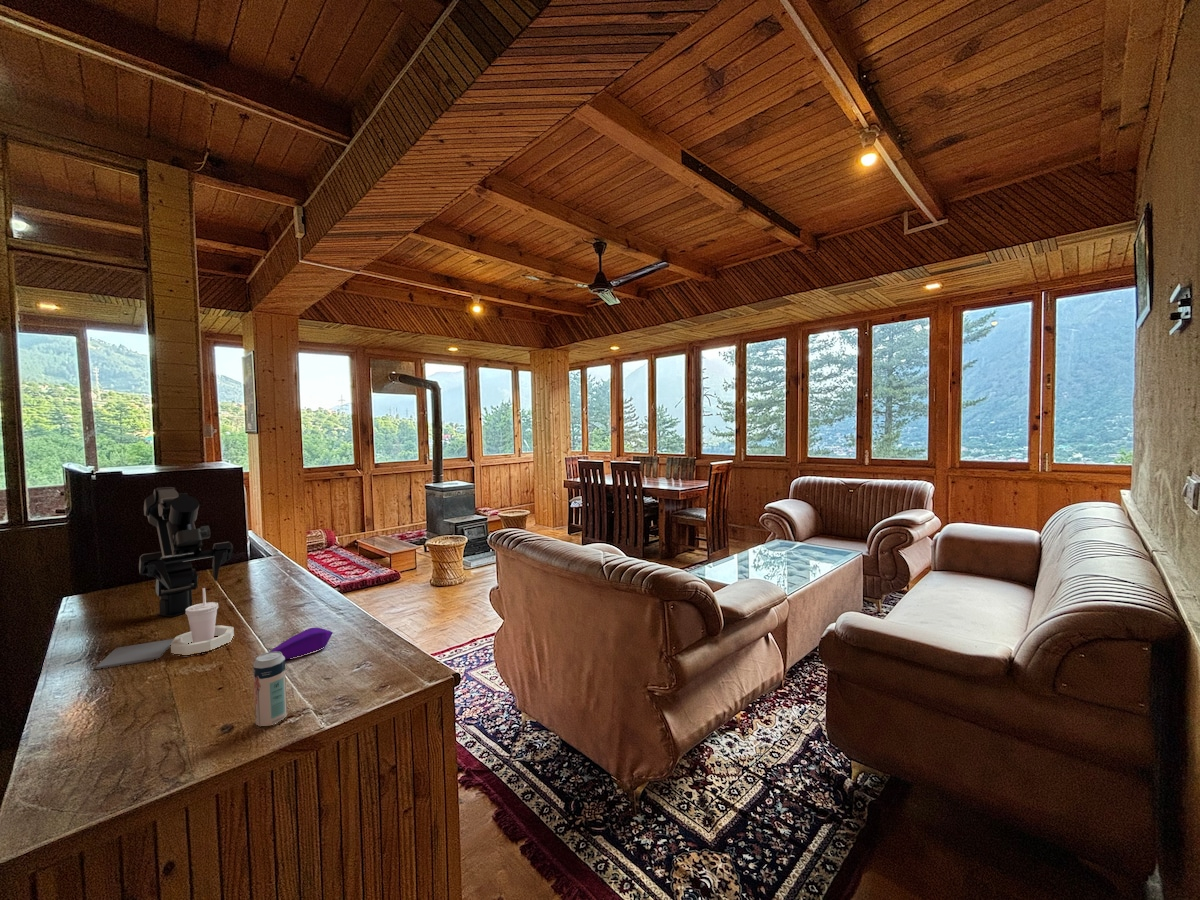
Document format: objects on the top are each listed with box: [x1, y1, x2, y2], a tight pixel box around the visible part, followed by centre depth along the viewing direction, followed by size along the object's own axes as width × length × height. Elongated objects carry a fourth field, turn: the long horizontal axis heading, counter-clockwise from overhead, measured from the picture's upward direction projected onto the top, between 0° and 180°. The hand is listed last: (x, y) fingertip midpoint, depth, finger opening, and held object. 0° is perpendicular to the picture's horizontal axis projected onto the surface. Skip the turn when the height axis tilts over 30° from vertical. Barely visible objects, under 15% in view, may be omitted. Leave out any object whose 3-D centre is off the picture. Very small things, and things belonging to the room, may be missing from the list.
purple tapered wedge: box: [269, 627, 333, 661], centre depth 116 cm, size 5×5×15 cm
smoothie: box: [184, 587, 219, 643], centre depth 121 cm, size 6×6×14 cm
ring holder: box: [170, 624, 235, 655], centre depth 121 cm, size 12×12×2 cm
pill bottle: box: [252, 651, 288, 727], centre depth 89 cm, size 5×5×12 cm
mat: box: [94, 638, 175, 670], centre depth 117 cm, size 11×11×1 cm
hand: (193, 584), depth 126 cm, fingers open, 9 cm apart
